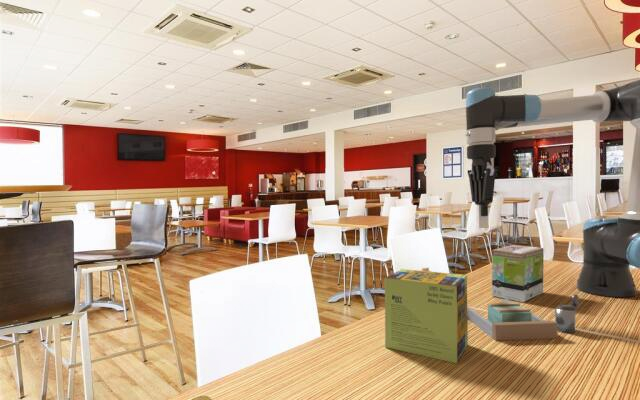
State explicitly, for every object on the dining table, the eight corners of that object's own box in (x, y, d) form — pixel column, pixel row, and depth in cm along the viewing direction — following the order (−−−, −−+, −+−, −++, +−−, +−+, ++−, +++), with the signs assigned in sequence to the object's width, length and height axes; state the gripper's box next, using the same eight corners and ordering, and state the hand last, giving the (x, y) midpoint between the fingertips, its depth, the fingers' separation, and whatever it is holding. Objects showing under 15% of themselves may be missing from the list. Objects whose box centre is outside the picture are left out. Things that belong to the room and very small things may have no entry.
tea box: (525, 303, 111) (525, 253, 110) (491, 296, 118) (490, 249, 118) (544, 293, 121) (544, 246, 120) (511, 287, 128) (511, 243, 128)
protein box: (458, 364, 75) (457, 285, 74) (384, 348, 83) (383, 277, 82) (469, 344, 83) (468, 274, 83) (401, 331, 92) (400, 267, 91)
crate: (515, 322, 96) (515, 301, 96) (532, 333, 89) (532, 310, 89) (487, 323, 96) (487, 302, 96) (501, 334, 89) (501, 311, 89)
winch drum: (571, 326, 92) (571, 292, 92) (583, 332, 88) (583, 297, 88) (551, 327, 92) (551, 293, 92) (562, 333, 88) (562, 298, 88)
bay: (506, 307, 107) (506, 295, 107) (556, 338, 86) (556, 322, 86) (457, 309, 107) (457, 297, 107) (495, 340, 85) (495, 325, 85)
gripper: (458, 147, 114) (460, 225, 115) (478, 142, 101) (480, 230, 102) (482, 146, 115) (484, 224, 116) (506, 141, 102) (507, 229, 103)
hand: (482, 227), depth 109 cm, fingers closed
